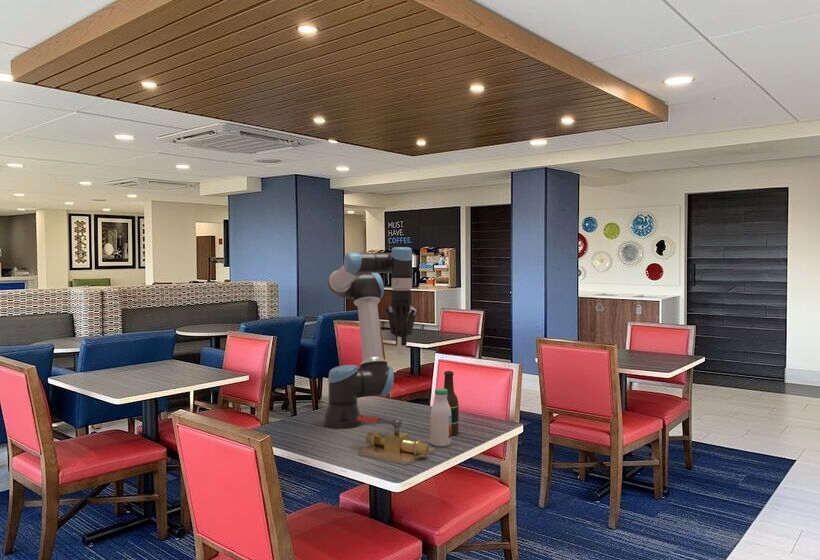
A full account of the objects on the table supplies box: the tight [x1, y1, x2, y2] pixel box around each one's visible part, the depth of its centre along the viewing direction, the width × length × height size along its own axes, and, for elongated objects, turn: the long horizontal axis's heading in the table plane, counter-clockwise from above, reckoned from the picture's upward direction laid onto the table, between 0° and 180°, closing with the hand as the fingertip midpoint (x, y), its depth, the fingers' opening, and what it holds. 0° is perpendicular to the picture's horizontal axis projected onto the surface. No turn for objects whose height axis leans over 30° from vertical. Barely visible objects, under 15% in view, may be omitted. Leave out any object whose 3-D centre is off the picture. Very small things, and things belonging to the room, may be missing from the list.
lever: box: [357, 414, 402, 427], centre depth 219 cm, size 17×3×2 cm, turn 66°
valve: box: [357, 426, 436, 466], centre depth 217 cm, size 24×18×10 cm
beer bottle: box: [443, 370, 459, 436], centre depth 242 cm, size 8×8×24 cm
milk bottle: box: [429, 387, 452, 447], centre depth 228 cm, size 8×8×20 cm
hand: (401, 354), depth 228 cm, fingers closed
